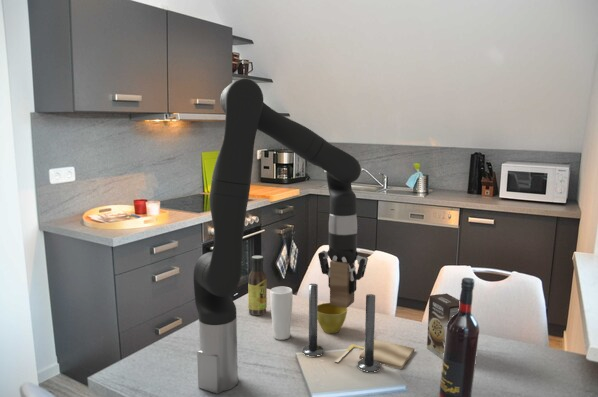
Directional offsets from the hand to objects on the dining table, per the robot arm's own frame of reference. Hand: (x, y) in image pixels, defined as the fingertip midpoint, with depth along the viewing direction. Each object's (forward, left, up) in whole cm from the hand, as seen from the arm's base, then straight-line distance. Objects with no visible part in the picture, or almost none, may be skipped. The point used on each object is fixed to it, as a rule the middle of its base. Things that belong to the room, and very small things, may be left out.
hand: (342, 291), depth 130 cm
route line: (+3, -2, -20) cm, 20 cm away
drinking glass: (+4, +22, -20) cm, 30 cm away
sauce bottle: (+16, +39, -20) cm, 46 cm away
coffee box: (+18, -24, -20) cm, 36 cm away
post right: (0, -8, -20) cm, 21 cm away
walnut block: (0, 0, -3) cm, 3 cm away
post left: (0, +9, -20) cm, 22 cm away
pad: (+9, -10, -20) cm, 24 cm away
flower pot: (+16, +11, -20) cm, 28 cm away
